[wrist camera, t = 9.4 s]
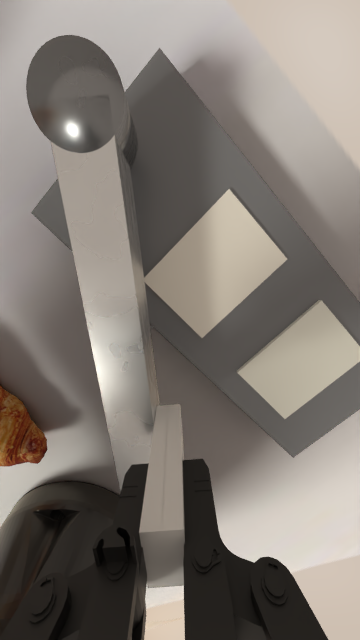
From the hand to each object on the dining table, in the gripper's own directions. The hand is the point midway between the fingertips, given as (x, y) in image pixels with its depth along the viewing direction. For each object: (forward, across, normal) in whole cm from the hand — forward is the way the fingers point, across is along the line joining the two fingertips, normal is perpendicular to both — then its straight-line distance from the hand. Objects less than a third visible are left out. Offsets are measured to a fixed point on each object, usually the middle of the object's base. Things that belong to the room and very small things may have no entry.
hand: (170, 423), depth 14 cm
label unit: (+7, +6, +7) cm, 11 cm away
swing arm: (+1, -2, +6) cm, 6 cm away
